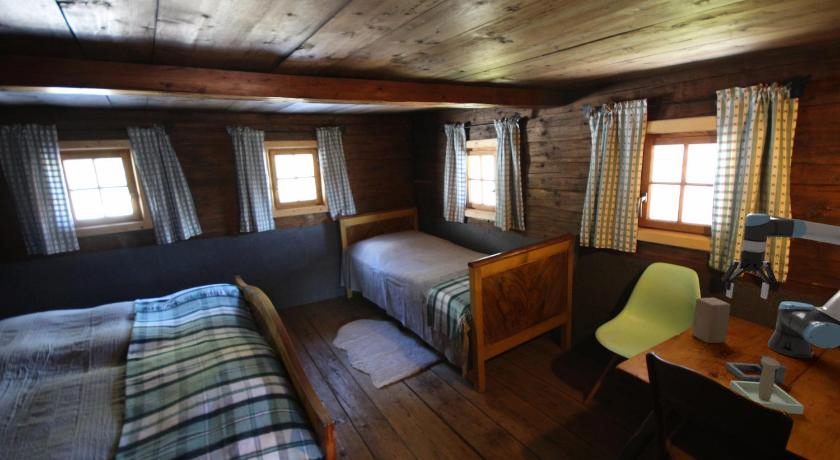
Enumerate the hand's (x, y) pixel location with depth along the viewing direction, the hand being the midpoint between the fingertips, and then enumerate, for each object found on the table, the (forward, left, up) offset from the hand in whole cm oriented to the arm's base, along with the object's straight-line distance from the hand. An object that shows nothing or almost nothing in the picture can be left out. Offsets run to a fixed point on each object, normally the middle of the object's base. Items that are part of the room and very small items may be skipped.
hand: (746, 297), depth 165 cm
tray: (+10, +32, -29) cm, 44 cm away
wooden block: (+2, -18, -29) cm, 34 cm away
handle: (+10, +32, -28) cm, 44 cm away
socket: (+3, +15, -29) cm, 32 cm away
